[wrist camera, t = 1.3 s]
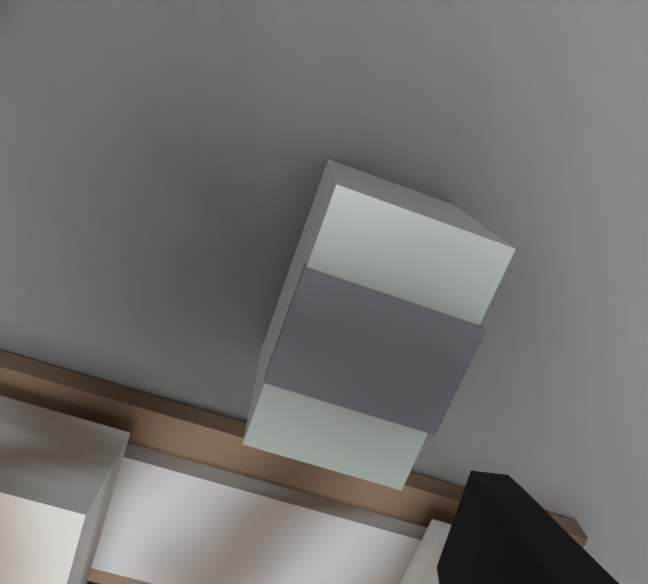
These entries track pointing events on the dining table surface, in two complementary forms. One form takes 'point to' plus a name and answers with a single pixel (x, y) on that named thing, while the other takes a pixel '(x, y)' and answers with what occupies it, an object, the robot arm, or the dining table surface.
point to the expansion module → (372, 327)
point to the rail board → (190, 497)
